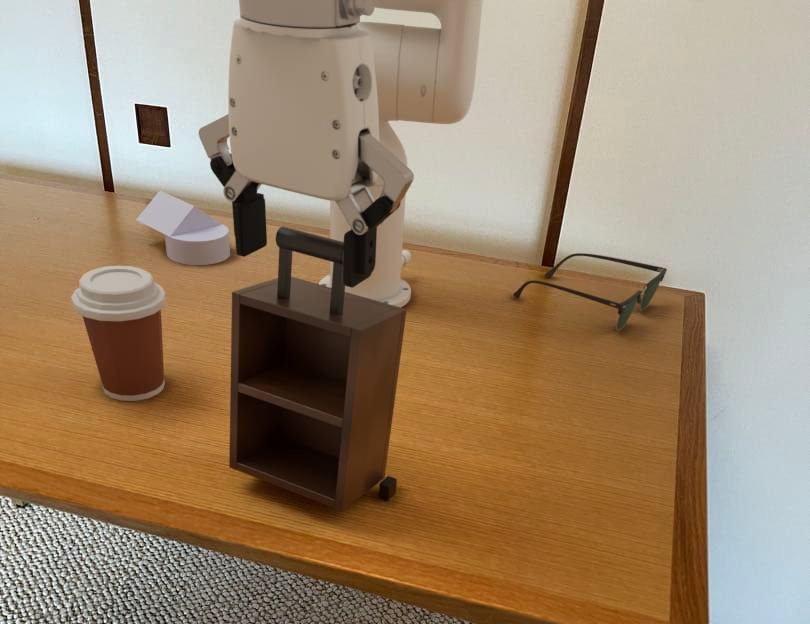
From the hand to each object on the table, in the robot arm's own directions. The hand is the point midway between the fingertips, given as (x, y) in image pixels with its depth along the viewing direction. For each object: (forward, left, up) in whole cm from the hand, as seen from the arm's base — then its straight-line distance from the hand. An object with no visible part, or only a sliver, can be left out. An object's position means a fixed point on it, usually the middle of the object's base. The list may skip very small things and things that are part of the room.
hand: (303, 265), depth 63 cm
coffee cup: (-5, -26, -21) cm, 34 cm away
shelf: (-5, 0, -9) cm, 11 cm away
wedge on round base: (-40, -47, -21) cm, 65 cm away
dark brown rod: (-3, 0, -21) cm, 21 cm away
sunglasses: (-57, +8, -21) cm, 62 cm away
